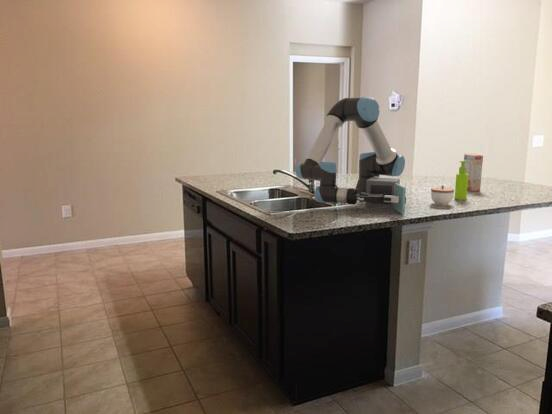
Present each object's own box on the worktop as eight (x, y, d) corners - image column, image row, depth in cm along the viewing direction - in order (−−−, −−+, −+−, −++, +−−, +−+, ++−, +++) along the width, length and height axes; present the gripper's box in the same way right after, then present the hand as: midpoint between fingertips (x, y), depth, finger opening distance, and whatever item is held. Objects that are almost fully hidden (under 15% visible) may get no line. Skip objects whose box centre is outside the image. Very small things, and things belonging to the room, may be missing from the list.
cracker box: (480, 191, 273) (483, 155, 269) (470, 191, 274) (473, 155, 270) (471, 187, 287) (473, 153, 283) (461, 187, 287) (463, 153, 283)
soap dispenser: (469, 199, 246) (472, 161, 242) (455, 199, 248) (458, 161, 244) (467, 197, 252) (470, 160, 248) (453, 197, 253) (456, 160, 249)
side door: (401, 214, 208) (403, 187, 206) (393, 208, 222) (394, 183, 220) (405, 214, 208) (407, 187, 206) (396, 208, 222) (397, 183, 220)
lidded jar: (429, 205, 231) (430, 186, 229) (430, 201, 241) (432, 183, 239) (452, 207, 227) (454, 187, 225) (453, 203, 237) (454, 184, 235)
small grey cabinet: (370, 202, 238) (371, 175, 236) (404, 205, 232) (405, 177, 229) (365, 207, 227) (366, 178, 225) (400, 209, 221) (402, 180, 218)
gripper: (350, 201, 227) (400, 205, 217) (343, 206, 214) (396, 210, 205) (351, 186, 225) (401, 189, 216) (344, 190, 213) (397, 193, 204)
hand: (398, 199), depth 211 cm, fingers closed
